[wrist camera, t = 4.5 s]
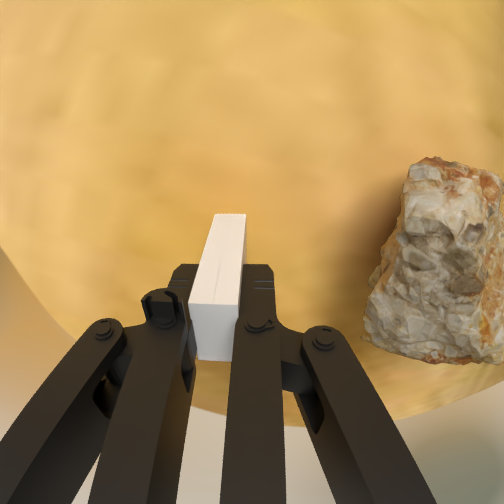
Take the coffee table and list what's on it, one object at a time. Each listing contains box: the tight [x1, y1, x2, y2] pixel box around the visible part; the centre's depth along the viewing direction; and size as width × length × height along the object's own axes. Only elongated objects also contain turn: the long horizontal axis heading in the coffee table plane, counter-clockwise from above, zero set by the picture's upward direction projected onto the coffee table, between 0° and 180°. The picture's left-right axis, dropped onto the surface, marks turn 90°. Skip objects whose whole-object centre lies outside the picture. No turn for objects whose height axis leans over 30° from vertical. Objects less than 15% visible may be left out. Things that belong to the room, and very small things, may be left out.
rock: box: [361, 157, 504, 365], centre depth 12 cm, size 12×10×10 cm
